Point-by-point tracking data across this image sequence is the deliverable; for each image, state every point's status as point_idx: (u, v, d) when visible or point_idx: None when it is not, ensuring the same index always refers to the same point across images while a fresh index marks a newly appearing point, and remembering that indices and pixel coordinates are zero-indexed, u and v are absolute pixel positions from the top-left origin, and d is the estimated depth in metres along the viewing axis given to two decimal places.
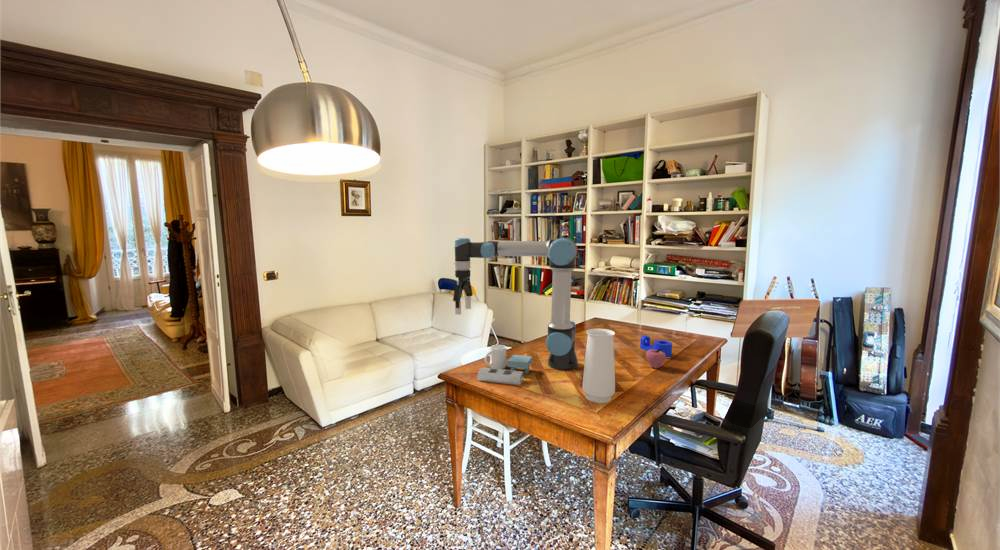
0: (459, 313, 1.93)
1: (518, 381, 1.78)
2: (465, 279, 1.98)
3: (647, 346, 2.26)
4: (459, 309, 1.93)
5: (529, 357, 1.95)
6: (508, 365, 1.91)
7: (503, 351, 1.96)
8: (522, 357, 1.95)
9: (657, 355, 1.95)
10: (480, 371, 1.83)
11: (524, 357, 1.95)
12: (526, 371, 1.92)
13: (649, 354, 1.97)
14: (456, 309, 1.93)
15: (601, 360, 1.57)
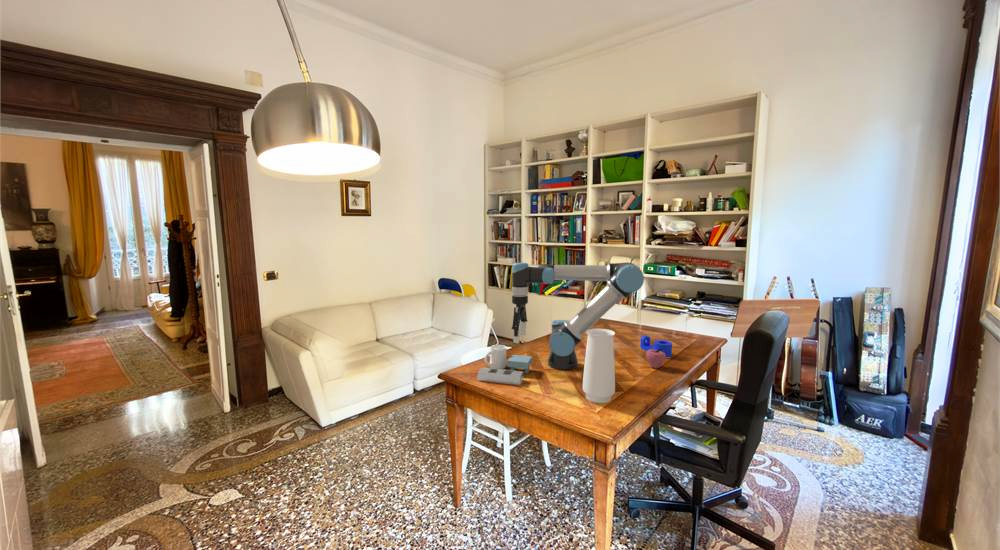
0: (517, 341, 1.85)
1: (518, 381, 1.78)
2: (522, 305, 1.90)
3: (647, 346, 2.26)
4: (517, 337, 1.85)
5: (529, 357, 1.95)
6: (508, 365, 1.91)
7: (503, 351, 1.96)
8: (522, 357, 1.95)
9: (657, 355, 1.95)
10: (480, 371, 1.83)
11: (524, 357, 1.95)
12: (526, 371, 1.92)
13: (649, 354, 1.97)
14: (514, 337, 1.85)
15: (601, 360, 1.57)
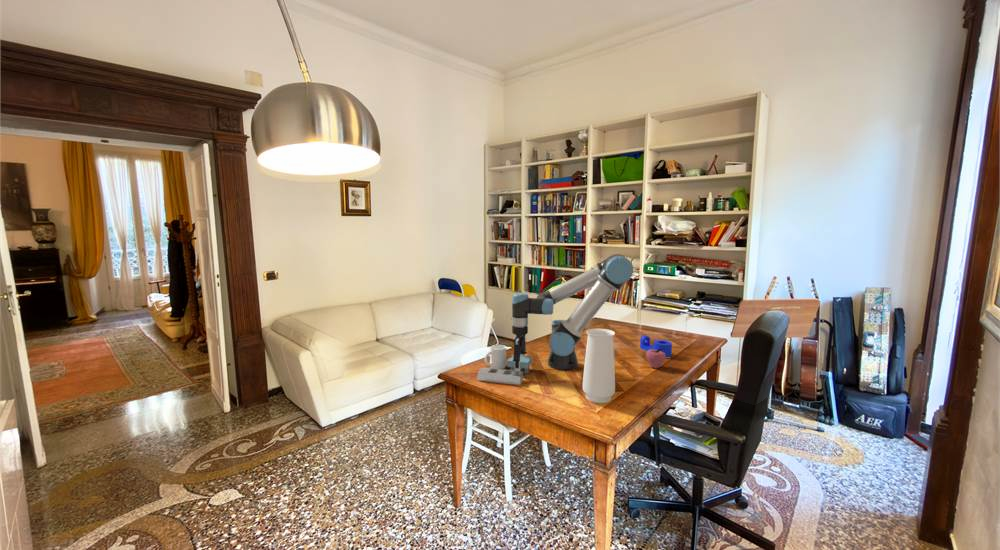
0: None
1: (518, 381, 1.78)
2: None
3: (647, 346, 2.26)
4: (518, 369, 1.89)
5: (529, 357, 1.95)
6: (508, 365, 1.91)
7: (503, 351, 1.96)
8: (522, 357, 1.95)
9: (657, 355, 1.95)
10: (480, 371, 1.83)
11: (524, 357, 1.95)
12: (526, 371, 1.92)
13: (649, 354, 1.97)
14: (515, 369, 1.89)
15: (601, 360, 1.57)
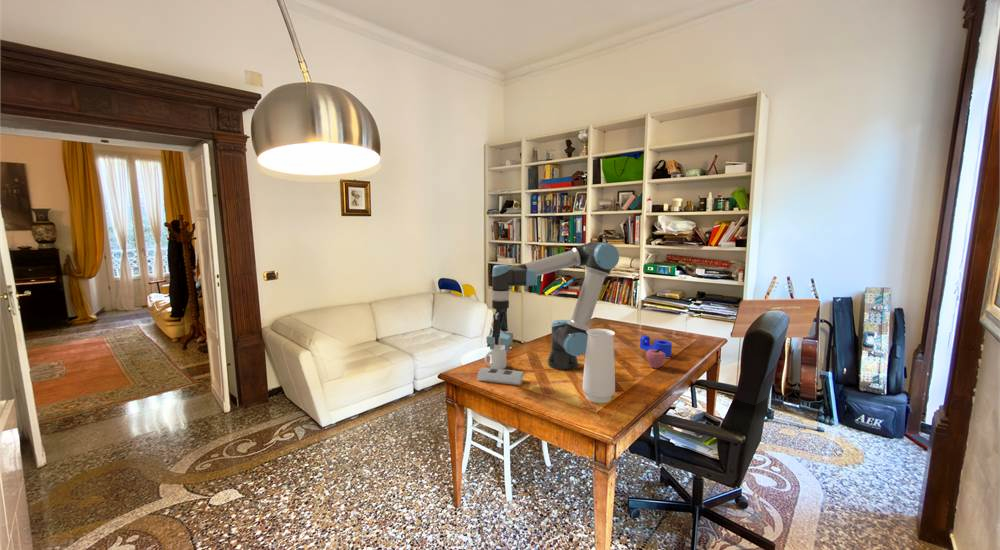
0: (498, 350, 1.76)
1: (518, 381, 1.78)
2: (503, 309, 1.80)
3: (647, 346, 2.26)
4: (498, 346, 1.76)
5: (510, 334, 1.82)
6: (487, 342, 1.78)
7: (503, 351, 1.96)
8: (503, 334, 1.82)
9: (657, 355, 1.95)
10: (480, 371, 1.83)
11: (505, 334, 1.82)
12: (506, 348, 1.79)
13: (649, 354, 1.97)
14: (495, 346, 1.76)
15: (601, 360, 1.57)
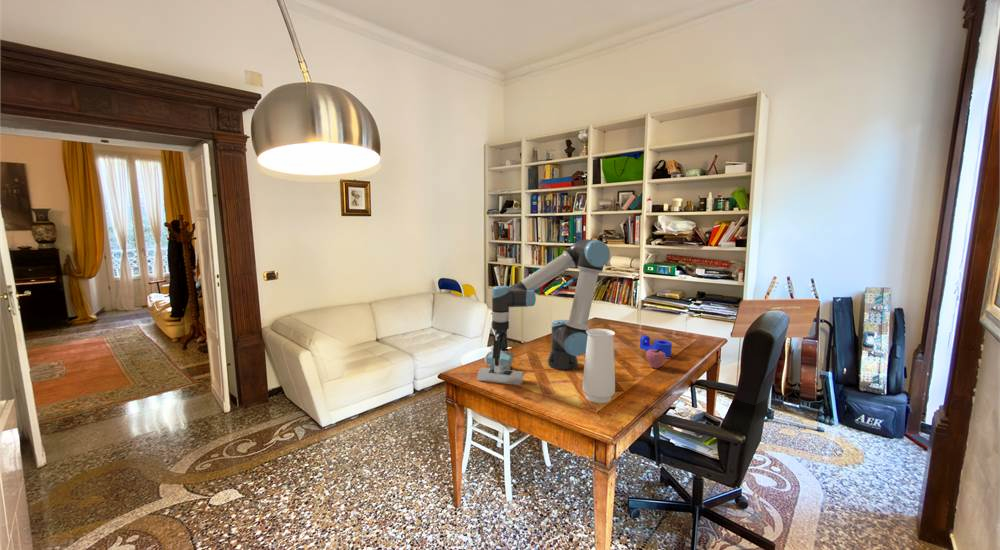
0: (498, 371, 1.77)
1: (518, 381, 1.78)
2: (503, 329, 1.81)
3: (647, 346, 2.26)
4: (498, 367, 1.77)
5: (510, 354, 1.83)
6: (487, 362, 1.79)
7: None
8: (503, 354, 1.83)
9: (657, 355, 1.95)
10: (480, 371, 1.83)
11: (505, 354, 1.83)
12: (507, 369, 1.80)
13: (649, 354, 1.97)
14: (495, 366, 1.77)
15: (601, 360, 1.57)
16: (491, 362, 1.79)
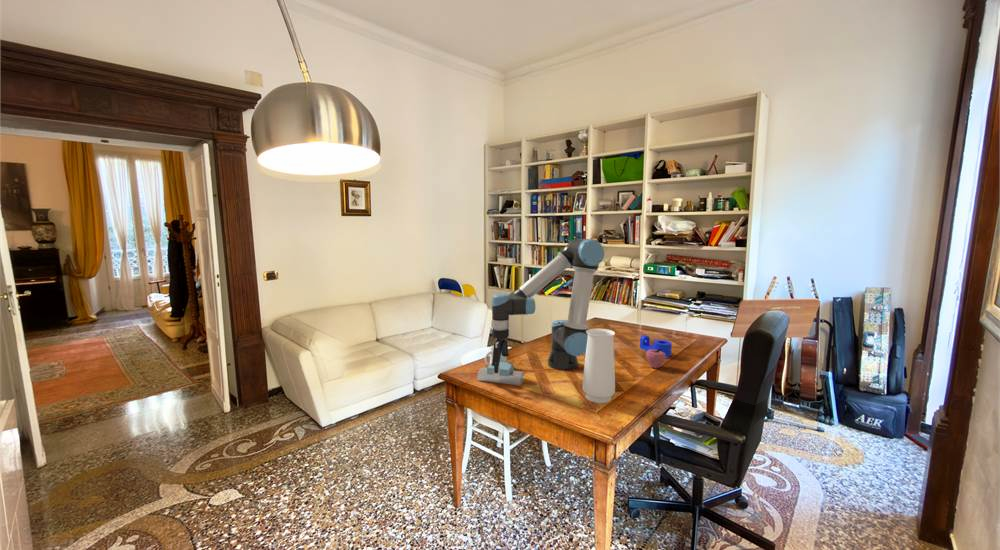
0: (498, 378, 1.77)
1: (518, 381, 1.78)
2: (503, 338, 1.81)
3: (647, 346, 2.26)
4: (498, 374, 1.76)
5: (510, 364, 1.84)
6: (488, 372, 1.80)
7: None
8: (503, 364, 1.84)
9: (657, 355, 1.95)
10: (480, 371, 1.83)
11: (505, 364, 1.84)
12: None
13: (649, 354, 1.97)
14: (494, 374, 1.77)
15: (601, 360, 1.57)
16: (491, 372, 1.79)
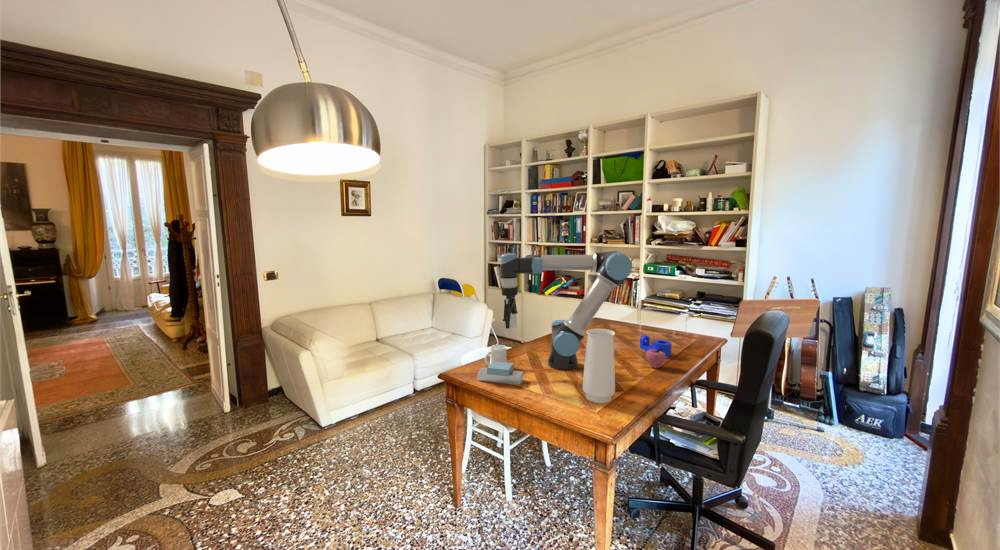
0: (509, 333, 1.82)
1: (518, 381, 1.78)
2: (512, 297, 1.88)
3: (646, 346, 2.26)
4: (509, 329, 1.82)
5: (510, 364, 1.84)
6: (488, 372, 1.80)
7: (503, 351, 1.96)
8: (503, 364, 1.84)
9: (657, 355, 1.95)
10: (480, 371, 1.83)
11: (505, 364, 1.84)
12: None
13: (649, 354, 1.97)
14: (506, 329, 1.82)
15: (601, 360, 1.57)
16: (491, 372, 1.79)
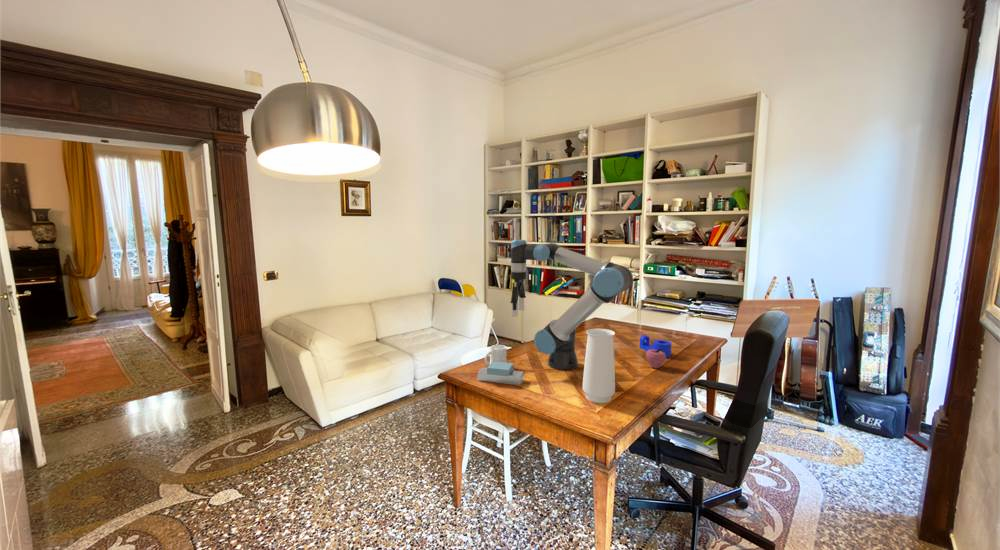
0: (516, 315, 1.93)
1: (518, 381, 1.78)
2: (520, 281, 1.98)
3: (646, 346, 2.26)
4: (516, 311, 1.93)
5: (510, 364, 1.84)
6: (488, 372, 1.80)
7: (503, 351, 1.96)
8: (503, 364, 1.84)
9: (657, 355, 1.95)
10: (480, 371, 1.83)
11: (505, 364, 1.84)
12: None
13: (649, 354, 1.97)
14: (513, 311, 1.93)
15: (601, 360, 1.57)
16: (491, 372, 1.79)
